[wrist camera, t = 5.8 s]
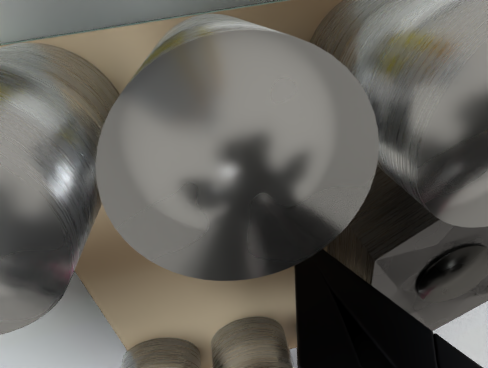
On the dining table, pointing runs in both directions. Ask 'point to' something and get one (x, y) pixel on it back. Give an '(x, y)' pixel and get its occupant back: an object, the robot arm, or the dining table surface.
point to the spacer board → (137, 266)
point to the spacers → (237, 152)
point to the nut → (414, 255)
